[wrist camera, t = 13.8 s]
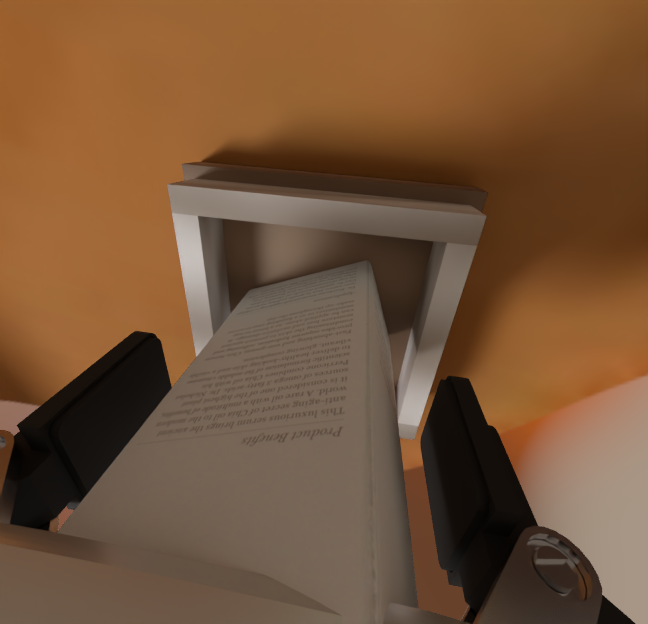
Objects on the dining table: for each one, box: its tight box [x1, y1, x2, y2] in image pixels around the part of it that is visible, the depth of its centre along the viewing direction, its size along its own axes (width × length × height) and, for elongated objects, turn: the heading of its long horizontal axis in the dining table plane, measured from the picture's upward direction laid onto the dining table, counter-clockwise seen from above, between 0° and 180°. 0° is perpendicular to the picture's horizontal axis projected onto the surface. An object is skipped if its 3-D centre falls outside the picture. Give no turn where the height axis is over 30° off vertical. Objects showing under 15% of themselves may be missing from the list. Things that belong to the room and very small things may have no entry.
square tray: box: [167, 162, 488, 440], centre depth 15 cm, size 12×12×4 cm
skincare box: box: [57, 260, 418, 624], centre depth 10 cm, size 6×4×12 cm
